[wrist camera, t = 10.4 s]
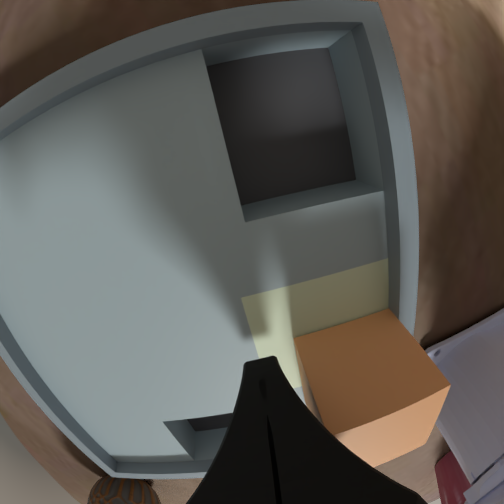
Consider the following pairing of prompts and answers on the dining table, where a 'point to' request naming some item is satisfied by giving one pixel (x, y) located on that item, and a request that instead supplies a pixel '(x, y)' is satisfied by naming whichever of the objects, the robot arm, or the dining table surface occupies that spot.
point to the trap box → (200, 220)
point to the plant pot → (451, 480)
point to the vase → (122, 491)
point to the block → (371, 386)
